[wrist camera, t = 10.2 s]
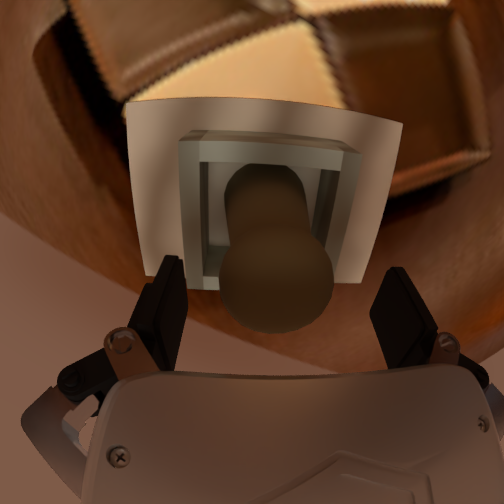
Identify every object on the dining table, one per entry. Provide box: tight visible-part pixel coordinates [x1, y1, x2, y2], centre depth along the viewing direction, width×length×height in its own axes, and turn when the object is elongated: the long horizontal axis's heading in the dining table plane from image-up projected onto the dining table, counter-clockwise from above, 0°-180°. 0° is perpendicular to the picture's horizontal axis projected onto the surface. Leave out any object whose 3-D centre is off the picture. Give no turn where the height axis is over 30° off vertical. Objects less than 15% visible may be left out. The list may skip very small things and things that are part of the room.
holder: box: [126, 97, 403, 290], centre depth 19 cm, size 20×15×5 cm
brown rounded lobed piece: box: [218, 163, 334, 334], centre depth 16 cm, size 6×6×11 cm
